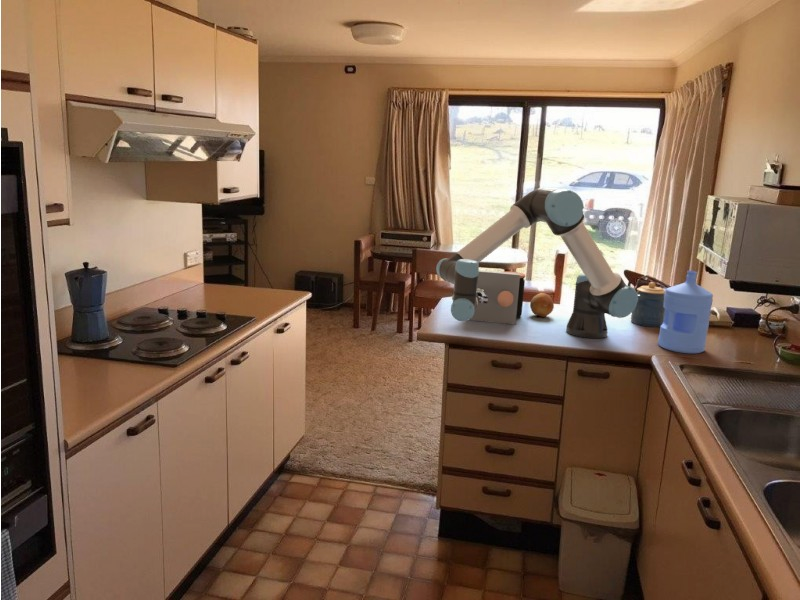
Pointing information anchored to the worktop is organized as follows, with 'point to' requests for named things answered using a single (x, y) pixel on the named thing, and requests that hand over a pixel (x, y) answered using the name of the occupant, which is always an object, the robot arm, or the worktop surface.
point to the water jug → (685, 317)
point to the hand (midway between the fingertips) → (474, 289)
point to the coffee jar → (520, 293)
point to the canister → (649, 306)
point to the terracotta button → (505, 298)
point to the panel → (492, 288)
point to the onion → (541, 305)
